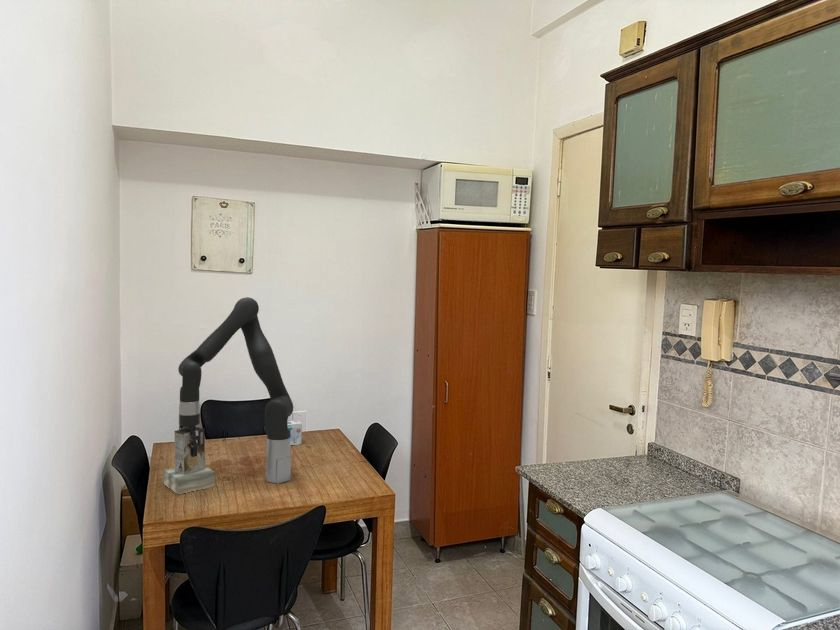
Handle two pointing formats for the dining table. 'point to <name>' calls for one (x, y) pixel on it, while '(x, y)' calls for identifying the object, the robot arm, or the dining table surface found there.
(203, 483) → the tower base
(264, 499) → the dining table surface
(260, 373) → the robot arm
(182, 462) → the coffee box
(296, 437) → the light bulb box
